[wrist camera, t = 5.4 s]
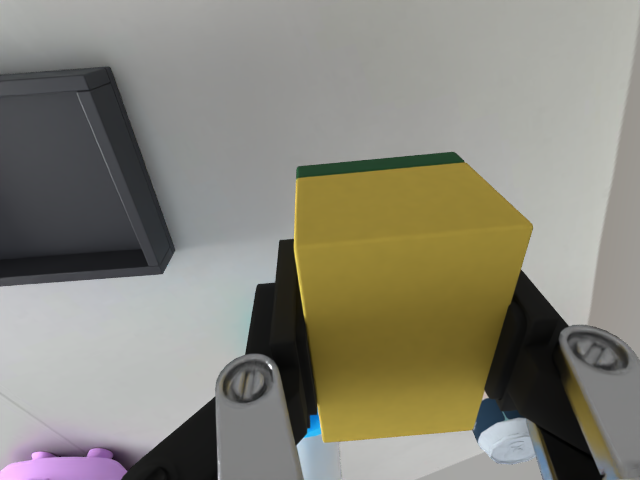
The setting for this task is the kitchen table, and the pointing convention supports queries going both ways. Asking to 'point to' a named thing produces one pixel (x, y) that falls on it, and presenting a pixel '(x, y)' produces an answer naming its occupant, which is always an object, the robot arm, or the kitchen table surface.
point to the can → (319, 459)
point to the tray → (73, 183)
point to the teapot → (66, 467)
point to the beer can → (502, 433)
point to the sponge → (403, 291)
